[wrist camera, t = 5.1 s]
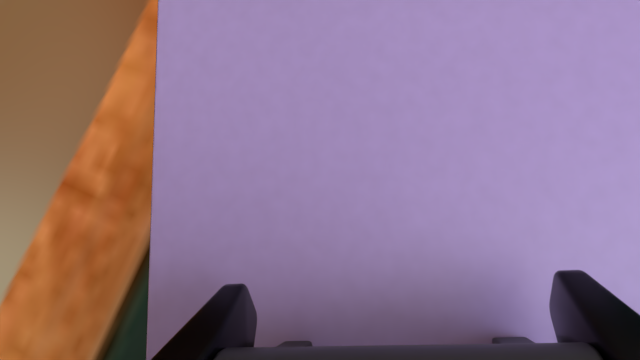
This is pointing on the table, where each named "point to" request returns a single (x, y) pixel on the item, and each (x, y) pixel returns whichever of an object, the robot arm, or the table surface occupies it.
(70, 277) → the table surface
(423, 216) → the purple square slab
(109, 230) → the table surface
